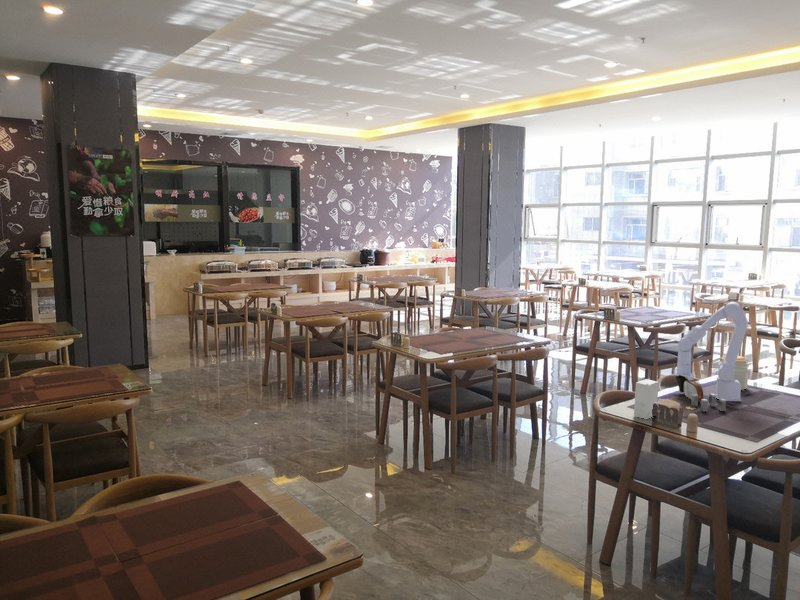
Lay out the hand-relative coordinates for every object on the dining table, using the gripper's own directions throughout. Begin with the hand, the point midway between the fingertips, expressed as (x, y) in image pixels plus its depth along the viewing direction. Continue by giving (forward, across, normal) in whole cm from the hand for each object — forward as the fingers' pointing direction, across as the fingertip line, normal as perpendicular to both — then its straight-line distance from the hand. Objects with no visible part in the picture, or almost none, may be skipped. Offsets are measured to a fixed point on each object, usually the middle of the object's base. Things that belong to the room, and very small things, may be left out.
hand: (682, 392), depth 289 cm
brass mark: (+1, +23, -8) cm, 24 cm away
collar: (+1, +19, 0) cm, 19 cm away
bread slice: (+1, +9, 0) cm, 9 cm away
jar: (+1, -11, +30) cm, 32 cm away
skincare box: (+1, +34, -32) cm, 47 cm away
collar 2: (+1, +27, 0) cm, 27 cm away
